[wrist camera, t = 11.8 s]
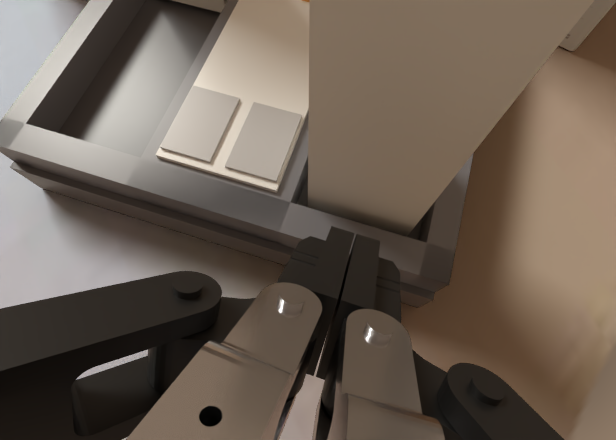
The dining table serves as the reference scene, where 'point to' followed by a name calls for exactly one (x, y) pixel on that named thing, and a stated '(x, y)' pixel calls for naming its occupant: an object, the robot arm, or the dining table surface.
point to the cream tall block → (414, 94)
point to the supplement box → (586, 24)
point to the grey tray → (201, 132)
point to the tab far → (206, 4)
